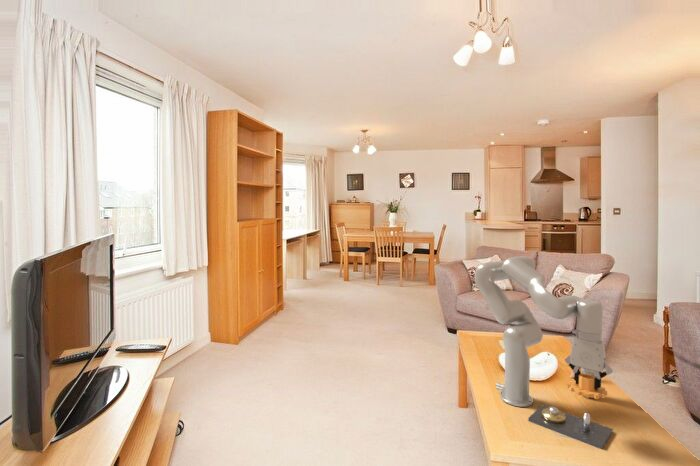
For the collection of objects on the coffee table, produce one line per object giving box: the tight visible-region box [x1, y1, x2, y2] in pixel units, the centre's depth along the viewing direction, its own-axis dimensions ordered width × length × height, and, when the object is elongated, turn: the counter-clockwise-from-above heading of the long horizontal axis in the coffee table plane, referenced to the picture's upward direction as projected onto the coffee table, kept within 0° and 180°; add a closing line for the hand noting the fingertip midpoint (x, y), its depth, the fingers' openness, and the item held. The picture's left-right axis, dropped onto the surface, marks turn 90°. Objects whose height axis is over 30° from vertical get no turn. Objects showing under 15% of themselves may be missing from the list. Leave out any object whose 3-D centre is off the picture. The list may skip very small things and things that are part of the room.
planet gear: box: [567, 372, 608, 400], centre depth 137 cm, size 12×12×5 cm
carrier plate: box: [527, 404, 614, 450], centre depth 142 cm, size 24×14×7 cm, turn 44°
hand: (587, 385), depth 137 cm, fingers closed on planet gear, 5 cm apart
